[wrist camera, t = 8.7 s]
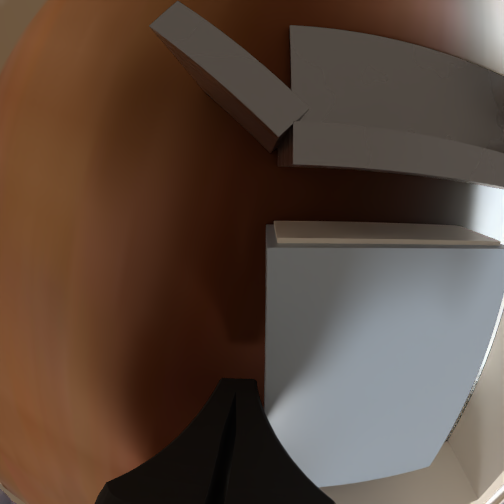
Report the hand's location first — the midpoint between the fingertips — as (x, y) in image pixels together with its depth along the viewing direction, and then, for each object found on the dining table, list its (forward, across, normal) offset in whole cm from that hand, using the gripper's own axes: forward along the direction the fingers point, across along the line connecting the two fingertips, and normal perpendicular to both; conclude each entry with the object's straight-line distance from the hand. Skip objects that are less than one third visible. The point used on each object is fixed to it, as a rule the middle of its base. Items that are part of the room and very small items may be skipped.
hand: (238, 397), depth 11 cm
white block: (+3, -6, 0) cm, 6 cm away
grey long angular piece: (+2, -7, -11) cm, 13 cm away
